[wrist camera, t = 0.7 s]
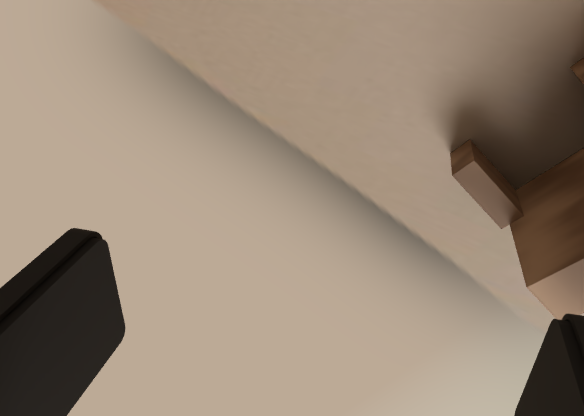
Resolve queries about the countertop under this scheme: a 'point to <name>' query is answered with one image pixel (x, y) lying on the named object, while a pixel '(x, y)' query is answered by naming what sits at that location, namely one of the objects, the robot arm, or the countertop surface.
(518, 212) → the wooden footed block
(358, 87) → the countertop surface
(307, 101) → the countertop surface
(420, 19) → the countertop surface
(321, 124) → the countertop surface
